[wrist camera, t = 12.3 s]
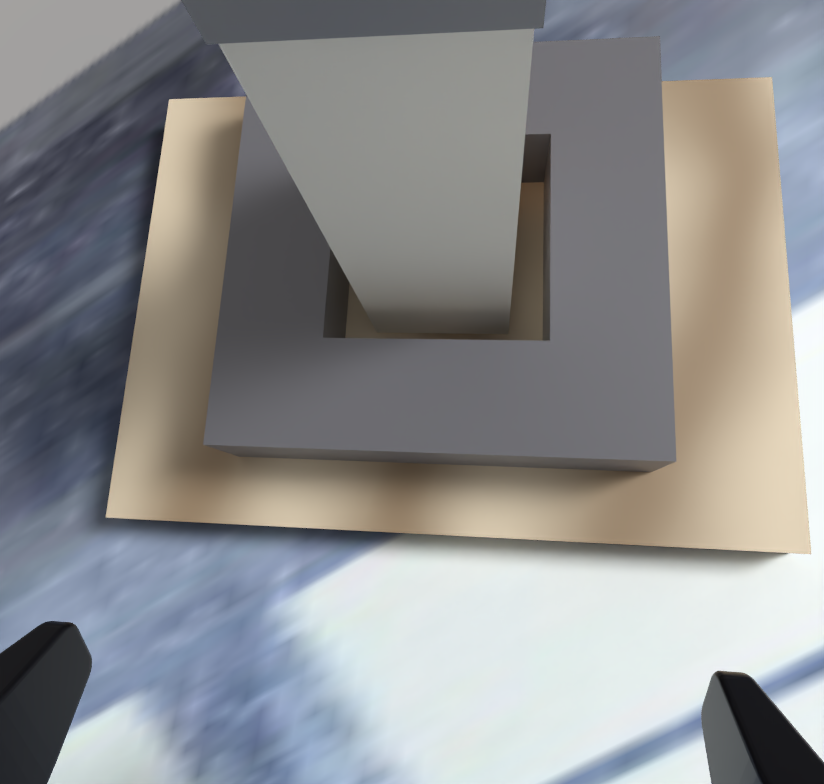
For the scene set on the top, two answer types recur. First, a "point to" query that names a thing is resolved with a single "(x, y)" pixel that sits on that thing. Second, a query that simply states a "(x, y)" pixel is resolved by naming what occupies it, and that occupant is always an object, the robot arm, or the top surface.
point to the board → (494, 485)
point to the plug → (397, 140)
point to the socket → (470, 359)
